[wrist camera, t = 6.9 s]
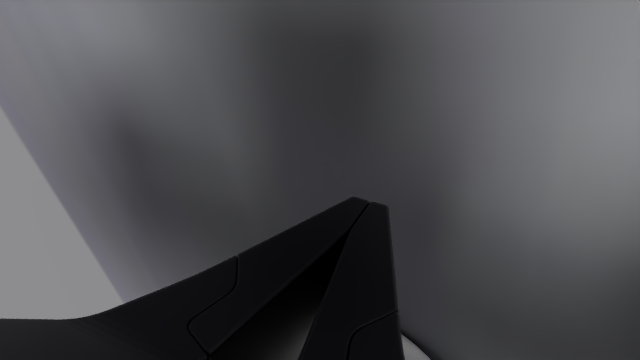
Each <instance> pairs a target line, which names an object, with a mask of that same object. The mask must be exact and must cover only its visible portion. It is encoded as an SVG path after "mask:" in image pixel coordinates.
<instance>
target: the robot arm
mask: <svg viewBox="0 0 640 360" xmlns="http://www.w3.org/2000/svg"><path fill="white" fill-rule="evenodd" d="M398 313H399V310H398V300H397V290H396V280H395V269H394V259H393V249H392V239H391V228H390V218H389V208H388V206H387V205H383V204H380V203H376V202H369V201H368V200H365V199H361V198H357V197H351V198H349V199H347V200H345V201H343V202H341V203H339V204H337V205H335V206H333V207H331V208H329V209H327V210H325V211H323V212H321V213H319V214H317V215H315V216H313V217H311V218H309V219H307V220H305V221H303V222H301V223H299V224H297V225H295V226H293V227H291V228H289V229H287V230H285V231H283V232H281V233H279V234H277V235H276V236H274V237H272V238H270V239H268V240H266V241H264V242H262V243H260V244H258V245H256V246H254V247H252V248H250V249H248V250H246V251H244V252H242V253H240V254H238V257H237V256H234V257H232V258H230V259H228V260H226V261H224V262H222V263H220V264H217V265H215V266H213V267H211V268H209V269H207V270H205V271H203V272H201V273H199V274H196V275H194V276H191V277H189V278H187V279H184V280H182V281H180V282H177V283H175V284H173V285H170V286H168V287H165V288H163V289H160V290H157V291H155V292H152V293H150V294H147V295H145V296H142V297H140V298H137V299H135V300H132V301H130V302H127V303H125V304H122V305H120V306H117V307H115V308H112V309H110V310H107V311H104V312H101V313H99V314H95V315H91V316H87V317H82V318H76V319H66V320H65V319H63V320H52V319H49V320H48V319H0V360H405V356H404V350H403V343H402V336H401V329H400V318H399V314H398Z"/></svg>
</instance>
